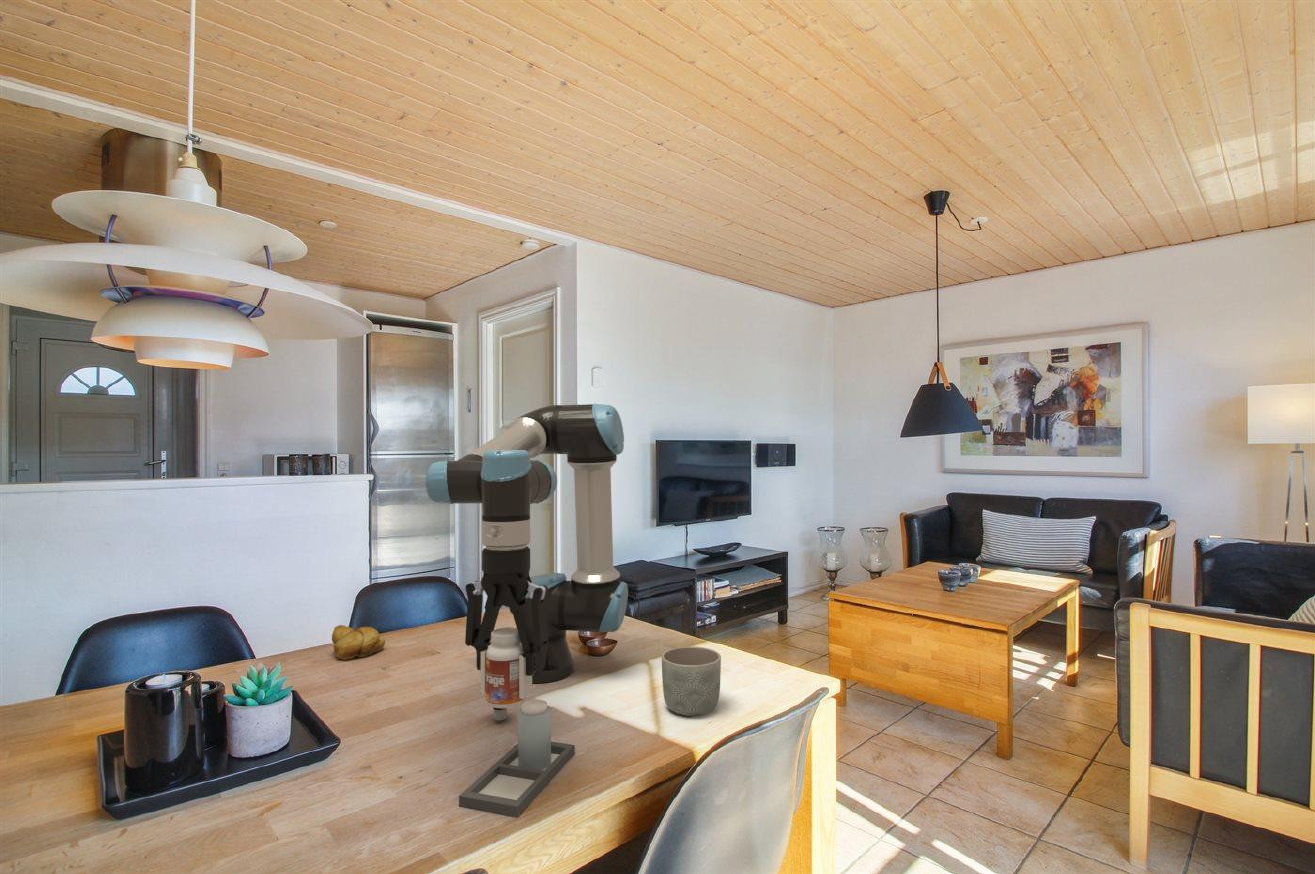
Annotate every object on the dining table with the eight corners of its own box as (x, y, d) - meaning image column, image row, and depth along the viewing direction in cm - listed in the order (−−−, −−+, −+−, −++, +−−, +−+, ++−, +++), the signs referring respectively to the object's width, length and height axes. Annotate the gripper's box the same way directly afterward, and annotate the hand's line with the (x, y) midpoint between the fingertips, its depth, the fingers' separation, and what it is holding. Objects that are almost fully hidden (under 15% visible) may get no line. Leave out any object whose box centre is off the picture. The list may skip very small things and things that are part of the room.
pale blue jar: (511, 768, 106) (511, 709, 106) (528, 753, 112) (527, 696, 112) (541, 773, 105) (541, 713, 105) (556, 757, 110) (556, 700, 110)
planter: (680, 725, 123) (679, 669, 123) (651, 703, 134) (651, 651, 134) (733, 713, 129) (732, 659, 129) (701, 692, 140) (700, 642, 140)
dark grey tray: (458, 806, 96) (458, 795, 96) (524, 746, 115) (524, 737, 115) (517, 817, 93) (517, 806, 93) (574, 753, 112) (574, 744, 112)
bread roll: (382, 645, 174) (382, 616, 174) (389, 655, 166) (389, 624, 166) (330, 654, 167) (330, 624, 167) (335, 664, 159) (335, 633, 159)
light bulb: (520, 717, 127) (519, 667, 127) (504, 729, 122) (504, 677, 122) (496, 713, 129) (496, 664, 129) (479, 725, 124) (479, 673, 124)
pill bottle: (478, 702, 99) (477, 632, 99) (510, 691, 104) (510, 623, 104) (501, 713, 95) (501, 639, 95) (534, 700, 100) (533, 630, 100)
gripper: (440, 547, 99) (440, 694, 99) (549, 552, 94) (550, 709, 93) (468, 540, 107) (468, 678, 106) (571, 545, 101) (571, 690, 100)
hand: (506, 692), depth 100 cm, fingers closed on pill bottle, 6 cm apart
